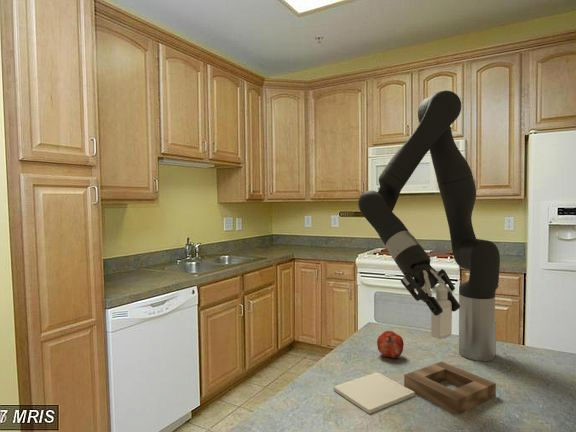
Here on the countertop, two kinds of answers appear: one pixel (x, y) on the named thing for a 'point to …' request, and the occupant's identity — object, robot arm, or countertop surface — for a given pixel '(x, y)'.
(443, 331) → the eye dropper bottle
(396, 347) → the pomegranate
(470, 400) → the walnut socket stand
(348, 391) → the off-white tile
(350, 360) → the countertop surface
